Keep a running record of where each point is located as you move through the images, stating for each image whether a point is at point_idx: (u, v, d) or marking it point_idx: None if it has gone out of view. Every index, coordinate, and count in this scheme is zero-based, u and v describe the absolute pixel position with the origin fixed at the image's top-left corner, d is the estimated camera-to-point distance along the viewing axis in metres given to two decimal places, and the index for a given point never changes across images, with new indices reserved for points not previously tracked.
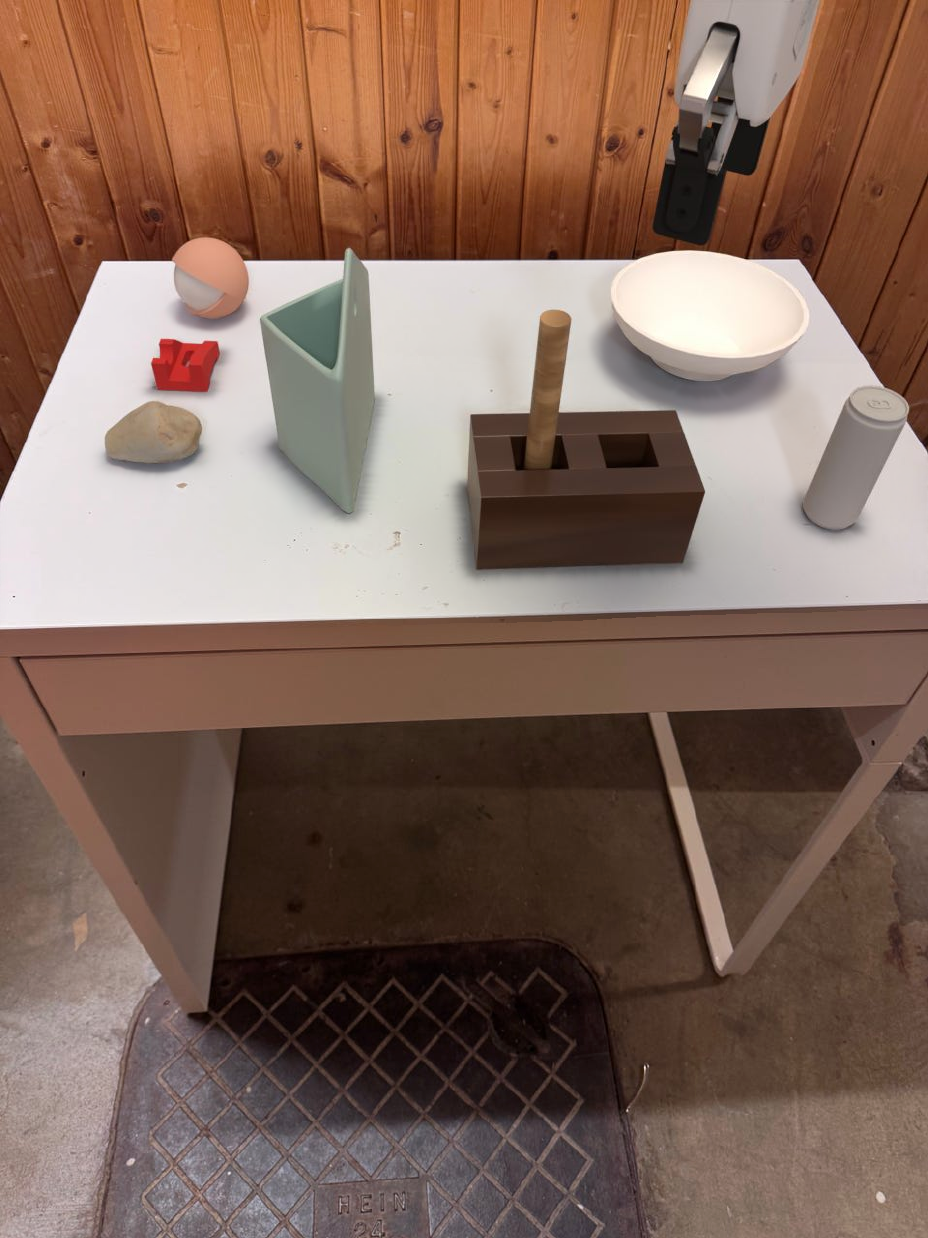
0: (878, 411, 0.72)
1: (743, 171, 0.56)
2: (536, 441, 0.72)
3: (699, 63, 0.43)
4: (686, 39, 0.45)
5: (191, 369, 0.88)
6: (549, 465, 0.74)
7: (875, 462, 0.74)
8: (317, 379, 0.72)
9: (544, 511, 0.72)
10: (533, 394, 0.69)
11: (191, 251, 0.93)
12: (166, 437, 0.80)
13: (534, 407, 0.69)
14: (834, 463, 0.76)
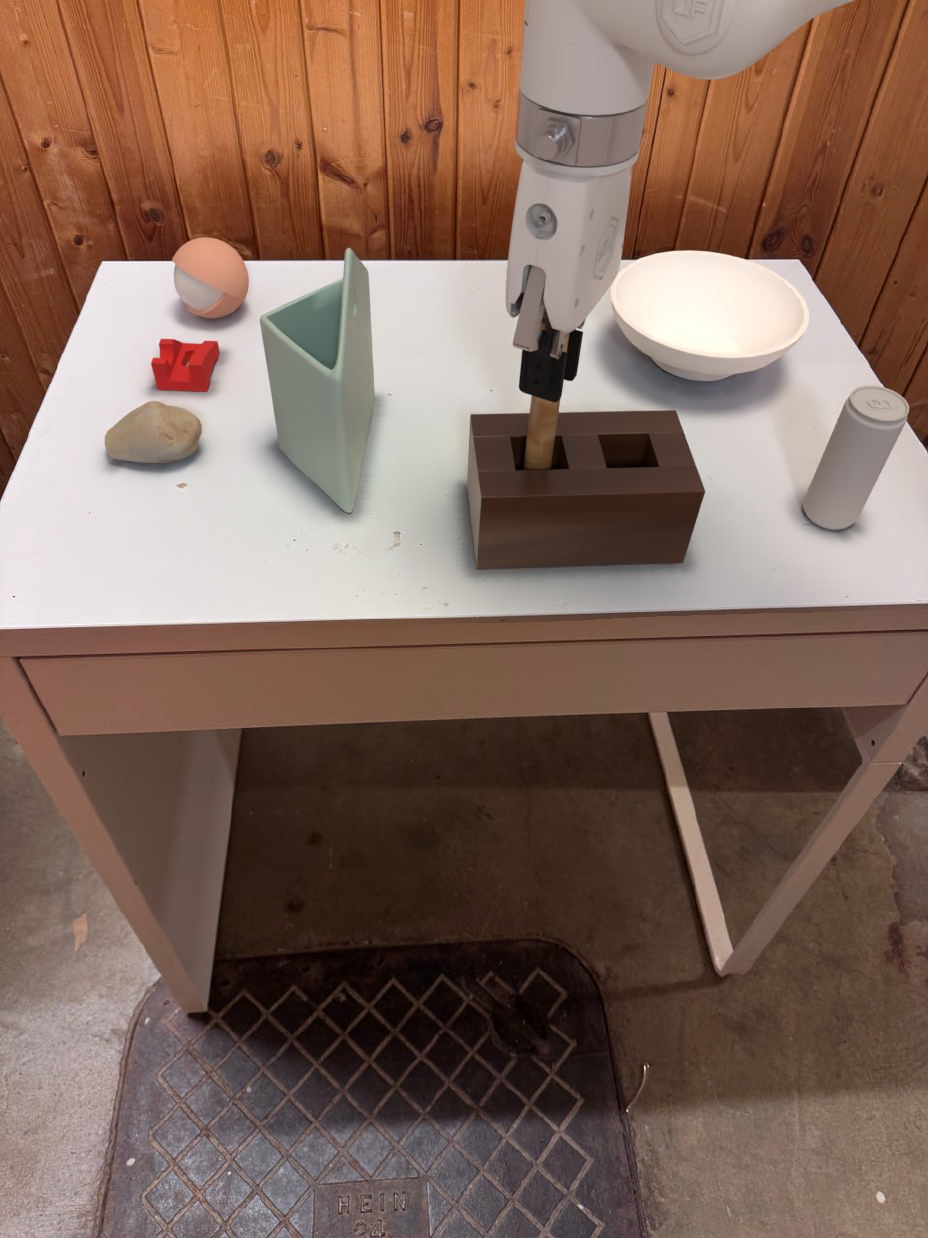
0: (879, 411, 0.72)
1: (565, 378, 0.69)
2: (535, 441, 0.72)
3: (521, 313, 0.59)
4: (508, 273, 0.58)
5: (191, 369, 0.88)
6: (549, 465, 0.74)
7: (875, 462, 0.74)
8: (317, 379, 0.72)
9: (544, 511, 0.72)
10: None
11: (191, 251, 0.93)
12: (166, 437, 0.80)
13: (534, 407, 0.69)
14: (834, 463, 0.76)
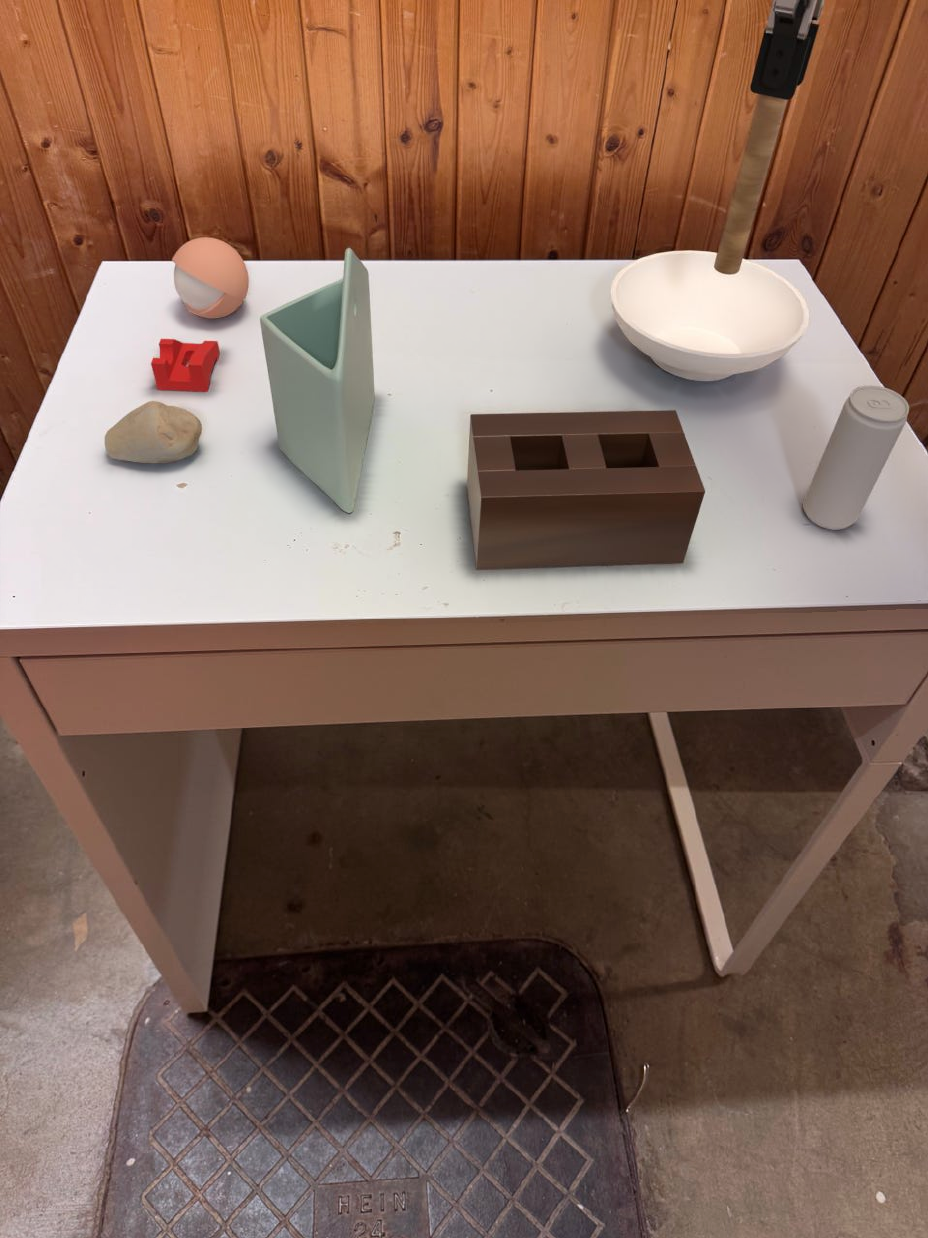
0: (879, 411, 0.72)
1: None
2: (754, 155, 0.72)
3: None
4: None
5: (191, 369, 0.88)
6: (761, 188, 0.74)
7: (875, 462, 0.74)
8: (317, 379, 0.72)
9: (544, 511, 0.72)
10: (760, 98, 0.69)
11: (191, 251, 0.93)
12: (166, 437, 0.80)
13: (759, 113, 0.70)
14: (834, 463, 0.76)
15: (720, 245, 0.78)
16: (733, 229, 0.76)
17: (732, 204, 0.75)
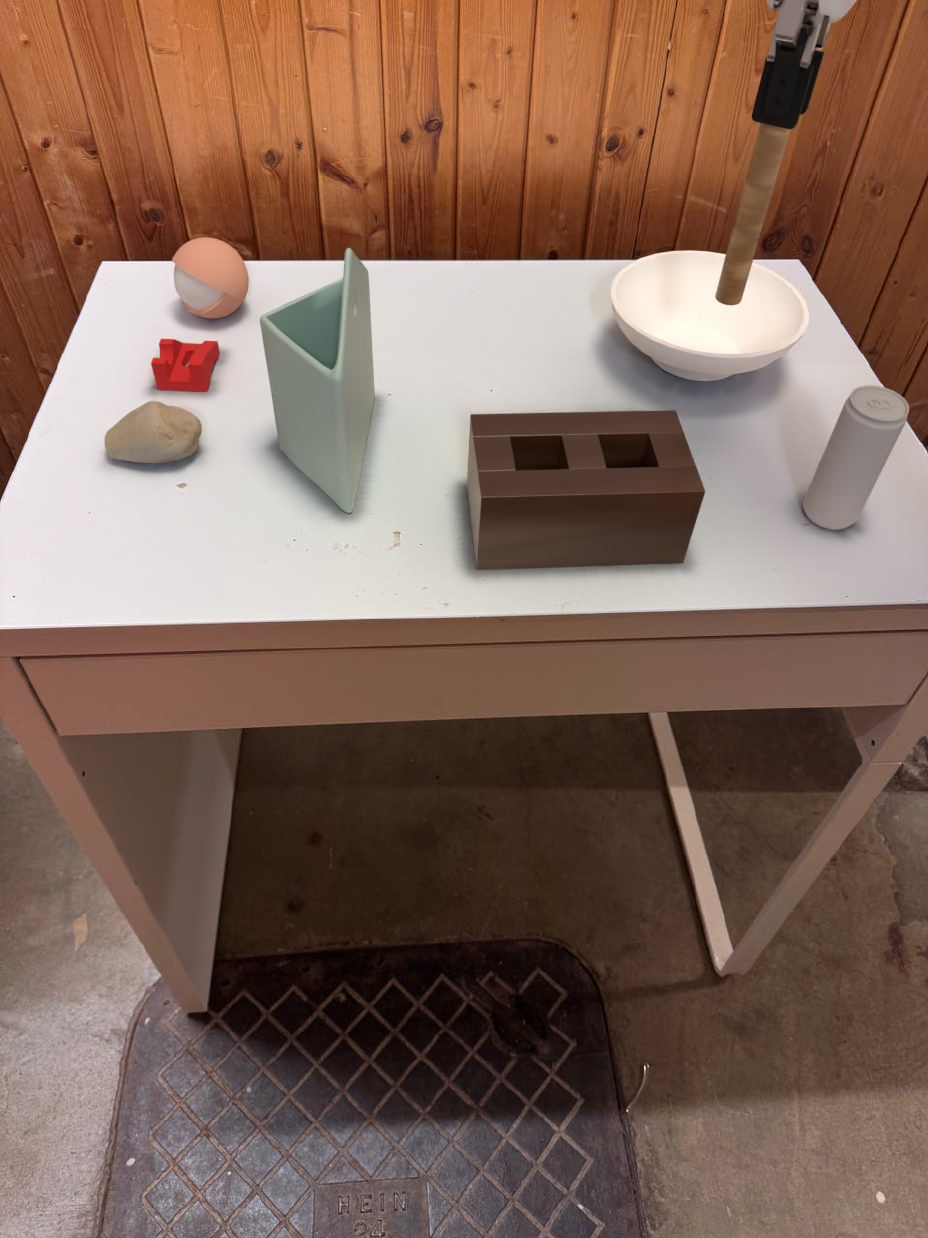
0: (879, 411, 0.72)
1: None
2: (756, 185, 0.69)
3: None
4: None
5: (191, 369, 0.88)
6: (763, 218, 0.72)
7: (875, 462, 0.74)
8: (317, 379, 0.72)
9: (544, 511, 0.72)
10: (762, 126, 0.67)
11: (191, 251, 0.93)
12: (166, 437, 0.80)
13: (761, 142, 0.67)
14: (834, 463, 0.76)
15: (721, 275, 0.76)
16: (735, 259, 0.74)
17: (733, 234, 0.73)
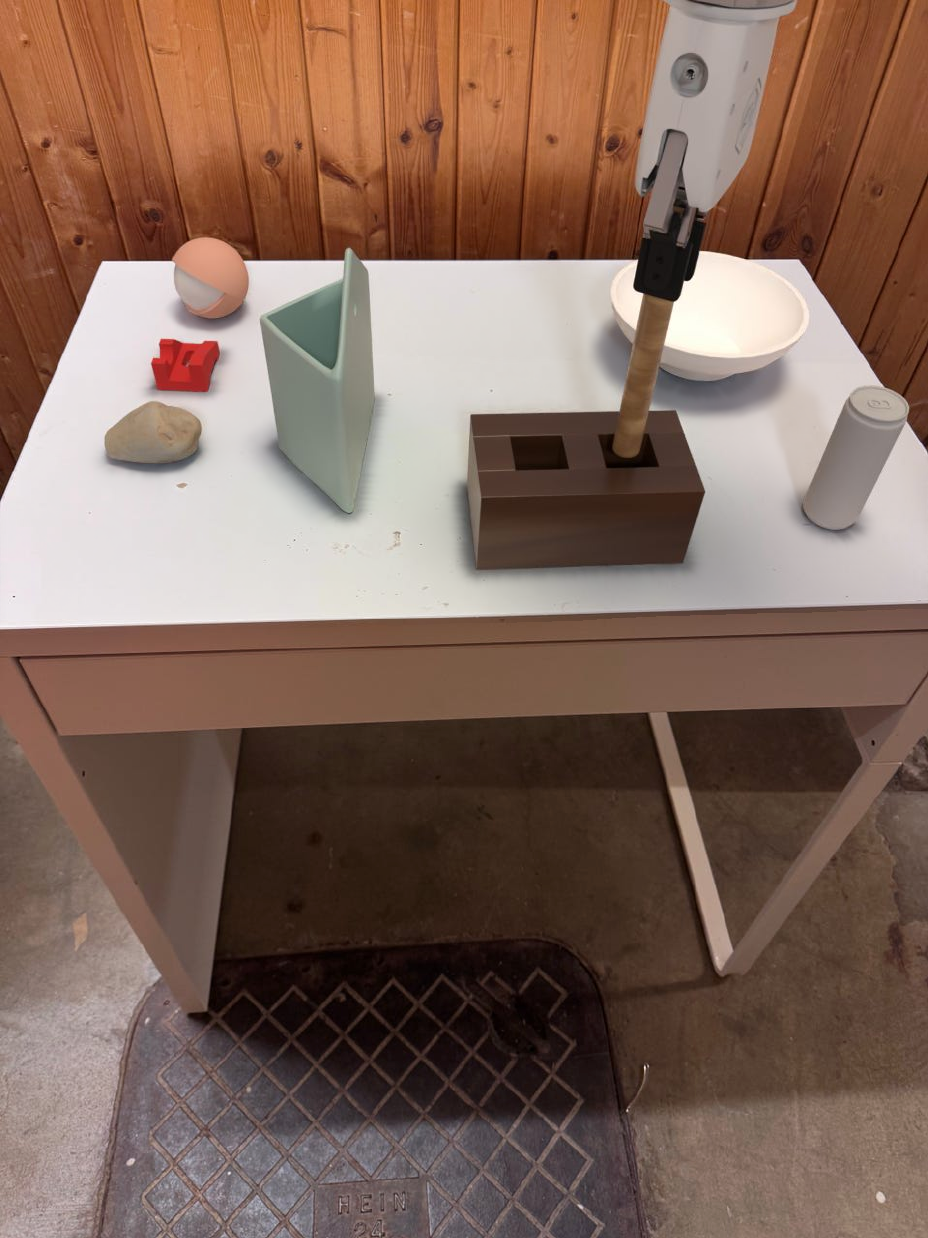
0: (879, 411, 0.72)
1: None
2: (644, 349, 0.66)
3: (655, 188, 0.53)
4: (643, 141, 0.53)
5: (191, 369, 0.88)
6: (655, 378, 0.68)
7: (875, 462, 0.74)
8: (317, 379, 0.72)
9: (544, 511, 0.72)
10: (646, 294, 0.63)
11: (191, 251, 0.93)
12: (166, 438, 0.80)
13: (646, 309, 0.64)
14: (834, 463, 0.76)
15: (616, 428, 0.73)
16: (628, 416, 0.71)
17: (625, 392, 0.70)
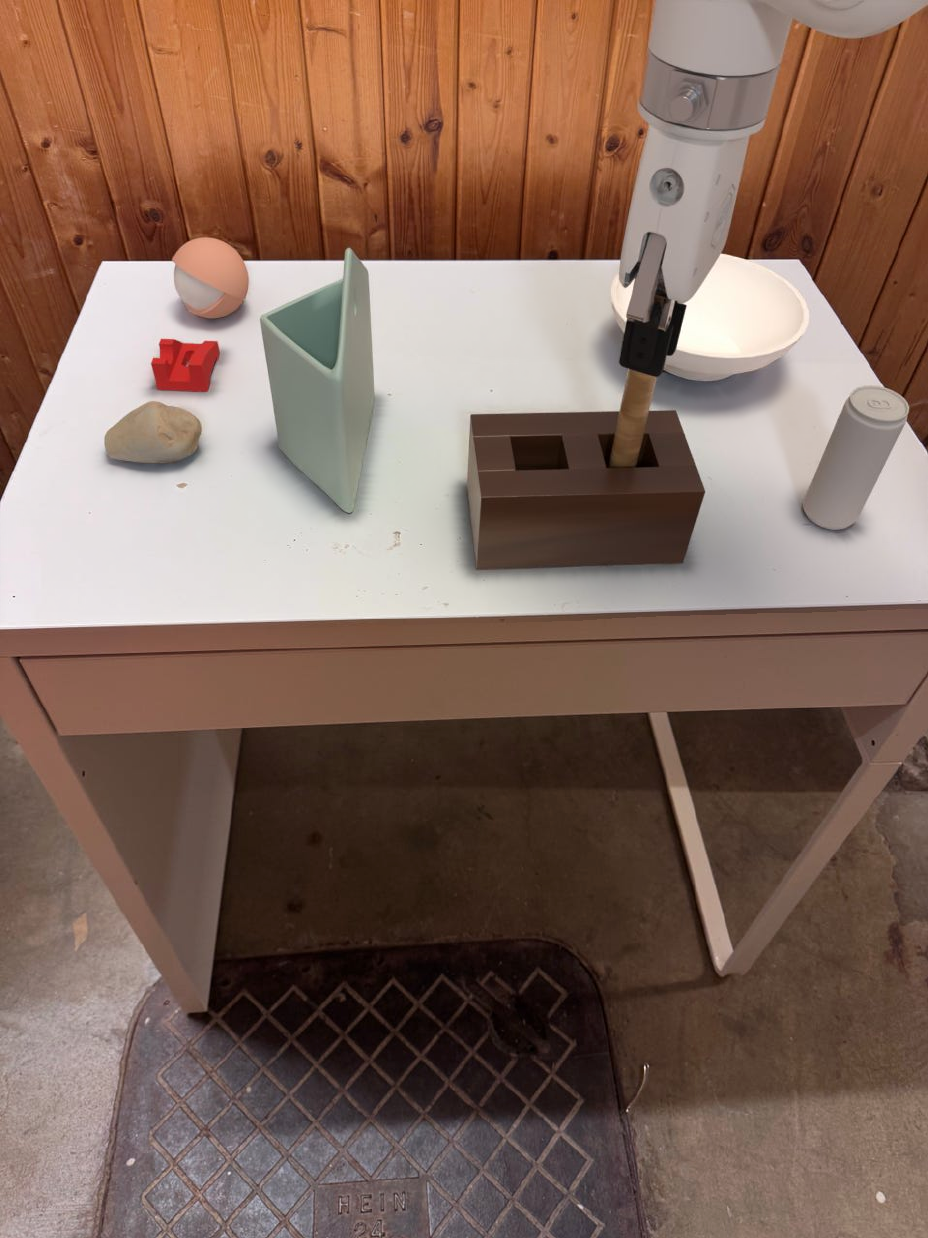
0: (879, 411, 0.72)
1: None
2: (629, 417, 0.71)
3: (637, 283, 0.58)
4: (626, 241, 0.57)
5: (191, 369, 0.88)
6: (640, 442, 0.73)
7: (875, 462, 0.74)
8: (317, 379, 0.72)
9: (544, 511, 0.72)
10: None
11: (191, 251, 0.93)
12: (165, 438, 0.80)
13: (631, 382, 0.69)
14: (834, 463, 0.76)
15: None
16: None
17: (613, 453, 0.74)
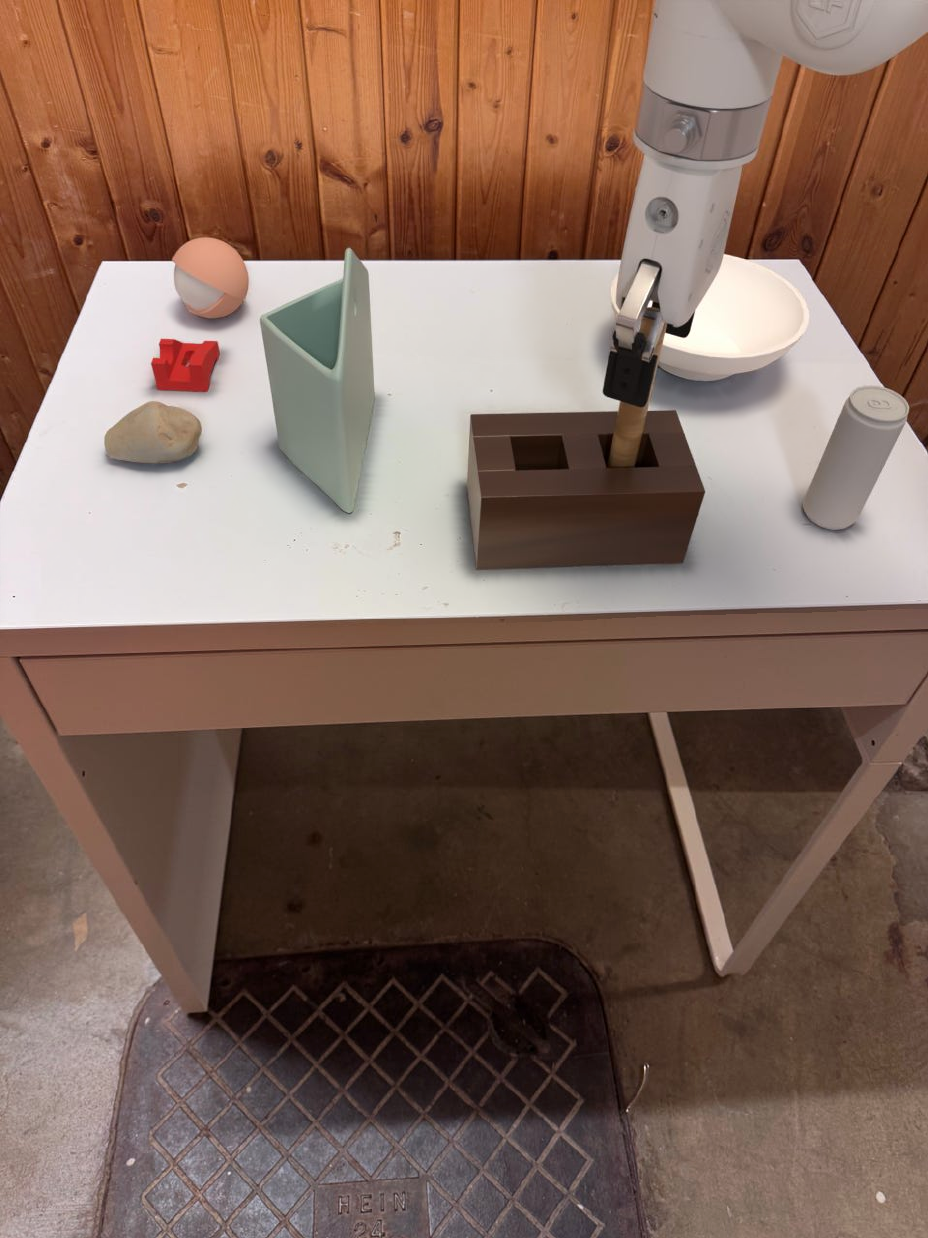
0: (879, 411, 0.72)
1: (679, 335, 0.70)
2: (623, 437, 0.72)
3: (631, 291, 0.57)
4: (622, 267, 0.58)
5: (191, 369, 0.88)
6: (634, 462, 0.74)
7: (875, 462, 0.74)
8: (317, 379, 0.72)
9: (544, 511, 0.72)
10: None
11: (191, 251, 0.93)
12: (165, 438, 0.80)
13: (624, 404, 0.70)
14: (834, 463, 0.76)
15: None
16: None
17: None
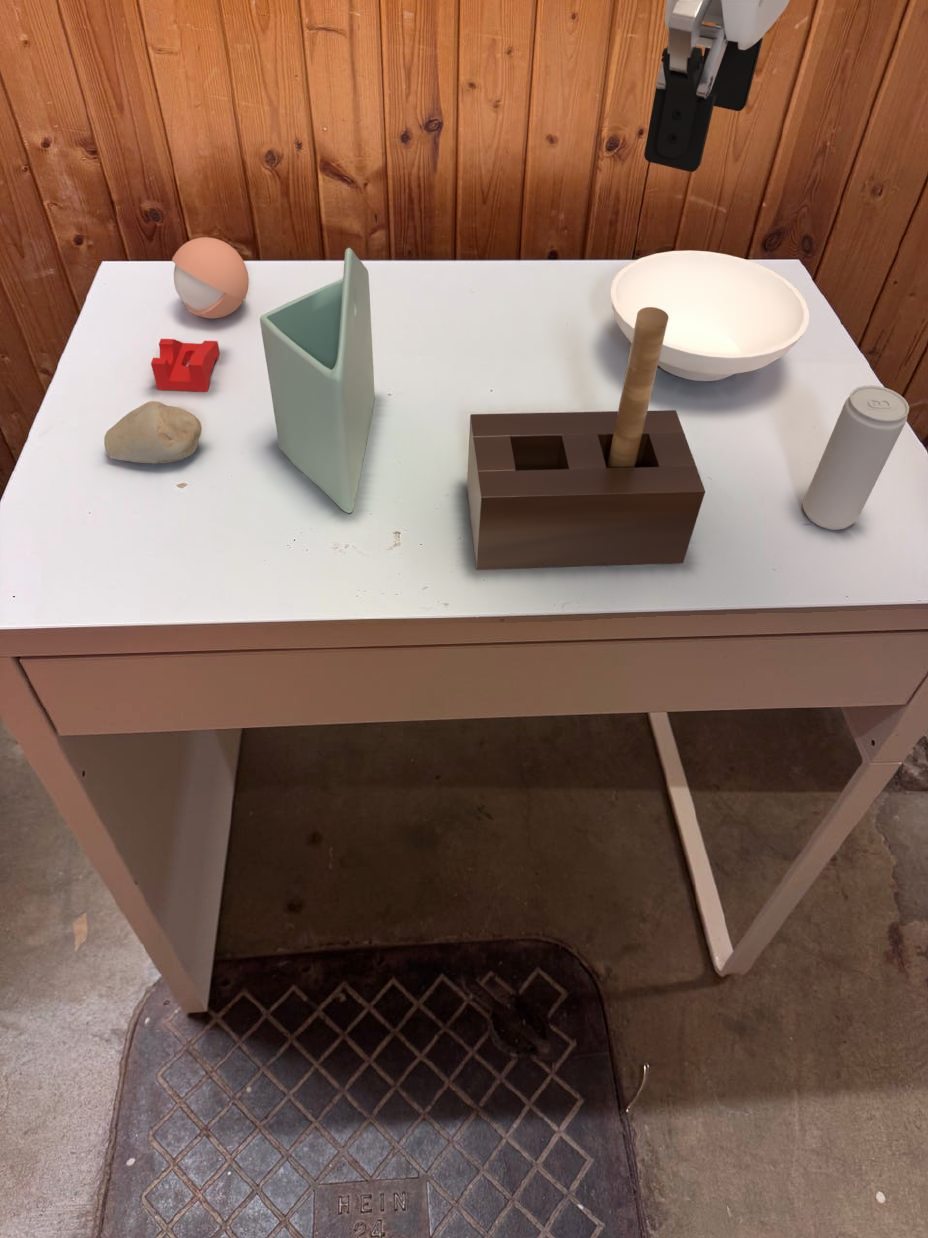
0: (879, 411, 0.72)
1: (733, 106, 0.58)
2: (623, 437, 0.72)
3: None
4: None
5: (191, 369, 0.88)
6: (634, 462, 0.74)
7: (875, 462, 0.74)
8: (317, 379, 0.72)
9: (544, 511, 0.72)
10: (624, 391, 0.70)
11: (191, 251, 0.93)
12: (165, 438, 0.80)
13: (624, 404, 0.70)
14: (834, 463, 0.76)
15: None
16: None
17: None
